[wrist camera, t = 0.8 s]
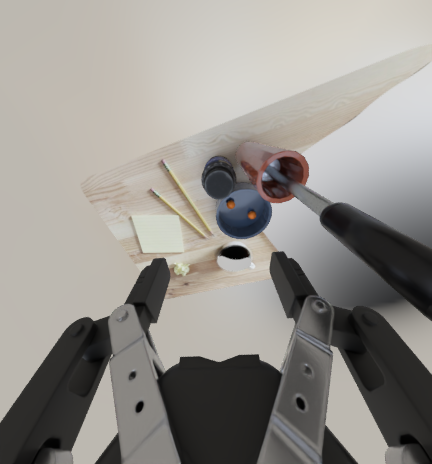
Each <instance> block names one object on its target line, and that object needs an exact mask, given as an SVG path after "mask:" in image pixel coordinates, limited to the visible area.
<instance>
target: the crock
mask: <svg viewBox="0 0 432 464" xmlns="http://www.w3.org/2000/svg"><path fill="white" fill-rule="evenodd" d="M235 158H236V161H237V163H238V165H239V166H240V167H241V169H242V170H243V172H244V173H245V174H246V176H247V177H248V179H249V180H250V181H251V183H252V184H253V186H254V187H255V188H256V190H257V191H258V193H259V194H260V195H261V197H262V198H263V199H265V200H267V201H268V202H271V203H282V202H286V201H289V200H291V199H292V198H294V197H295V196H293V195H292V194H291V193H290V192H288V191H287V190H286V189H285V188H284V187H282V186H281V185H280V184H279V183H277V182H276V181H275V180H274V179H273V180H271V181H268V182H264V181H262V176H263V173H264V171H265V170H266V168H267V167H268V165H269V164H271V163H272V162H273V161H275V160H276V159H278V160H279V162H280V171H281V172H282V173H284V174H286V175H287V176H289V177H291V178H292V179H294V180H296V181H297V182H299V183H301V184H302V185H304V186H305V184H306V182H307V179H308V176H309V166H308V163H307V161H306V160H305V157H304V156H302V155H301V154H299V153H298V152H296V151H292V150H288V149H284V148H279V147H275V146H269V145H265V144H260V143H256V142H252V141H246V142H243V143H242V144H240V145H239V147H238V148H237V150H236V154H235Z"/></svg>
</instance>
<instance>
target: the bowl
mask: <svg viewBox="0 0 432 464" xmlns="http://www.w3.org/2000/svg"><path fill="white" fill-rule="evenodd" d="M230 200H232V201H234V203H235V207H234V208H233V209H229V208H227V202H228V201H230ZM250 211H254V212H255V213H256V217H255V218H254V219H250V218H249V217H248V213H249V212H250ZM271 216H272V207H271V204H270V202H268V201H267V200H265V199H263V198H262V197H261V195H260V194H259V193H258V191H257V190H256V188H255V187H254V186H253V184H250V183H236V184H235V187H234V189H233V190H232V192H231V194H230V195H229V196H228V197H226V198H224V199H218V200H217V204H216V220H217V224H218V226H219V228H220V230H221V231H222V232H224V233H225V234H226V235H228V236H230V237H232V238H236V239H247V238H251V237H254V236H256V235H258V234H259V233H261V232H262V231H263V230H264V229H265V228H266V226H267V225H268V224H269V222H270V219H271Z"/></svg>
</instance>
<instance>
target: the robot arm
mask: <svg viewBox="0 0 432 464" xmlns="http://www.w3.org/2000/svg"><path fill="white" fill-rule="evenodd" d="M270 274H271V277H272V280H273V282H274V284H275V287H276V290H277V293H278V295H279V298H280V300H281V303H282V305H283V308H284V311H285V313H286V316H287V318H294V321H295V326H294V329H293V332H292V335H291V338H290V341H289V345H288V348H287V351H286V354H285V357H284V359H283V362H282V365H281V368H280V372H279V371H278V370H277V369H276V368H274V367H273V366H271V365H270V364H268V363H266V362H263V361H261V360H260V359H259V355H258V354H257V355H238V356H235V357H233V358H230V359H227V360H225V361H222V362H216V361H213V360H209V359H206V358H203V357H199V356H198V357H180V362H179V363H178V364H176V365H174V366H172V367H171V368H169V369H168V370H167V371H165V369H164V366H163V364H162V362H161V360H160V358H159V356H158V353H157V350H156V348H155V345H154V342H153V340H152V337H151V334H150V331H149V326H150V323H157V320H158V317H159V313H160V310H161V307H162V303H163V301H164V297H165V294H166V291H167V287H168V284H169V281H170V271H169V268H168V265H167V262H166V259H165V258H155V259H153V261H152V263H151V265H150V266H146V267H145V268H144V269H143V270H142V271H141V273H140V275H139V277H138V279H137V281H136V284H135V285H134V287H133V289H132V291H131V292H130V294H129V296H128V298H127V300H126V302H125V304H124V305H122V306H120V307H118V308H117V309H115V310H114V311H113V312H112V314H111V315H110V316H108V317H105V318H102V319H99V320H97V321H93V320H92V319H91V318H89V317H85V318H81V319H79V320H77V321H75V322H74V323H72V324H71V325H70V326H69V327H68V328H67V329H66V330H65V331H64V333H63V334H62V336H61V337H60V339H59V340H58V341H57V343H56V344H55V346H54V347H53V349H52V350H51V351H50V353H49V354H48V356H47V357H46V358H45V360H44V361H43V363H42V364H41V366H40V367H39V368H38V370H37V371H36V373H35V374H34V376H33V377H32V378H31V380H30V381H29V383H28V384H27V386H26V387H25V388H24V390H23V391H22V393H21V394H20V396H19V397H18V398H17V400H16V401H15V403H14V404H13V406H12V407H11V408H10V410H9V411H8V413H7V414H6V416H5V417H4V418H3V420H2V421H1V423H0V464H73V456H72V453H71V450H72V448H73V446H74V443H75V441H76V438H77V436H78V433H79V431H80V429H81V426H82V424H83V422H84V419H85V417H86V414H87V412H88V410H89V407H90V404H91V402H92V400H93V397H94V395H95V393H96V390H97V388H98V386H99V383H100V381H101V378H102V376H103V374H104V371H105V369H106V366H107V364H108V362H109V359H110V357H111V354H113V357H112V358H111V359H110V362H109V365H110V373H111V381H112V388H113V396H114V403H115V411H116V418H117V426H118V433H117V435H116V436H115V437H114V439H113V440H112V441H111V443H110V444H109V445H108V447H107V448H106V449H105V451H104V452H103V453H102V455H101V456H100V457H99V459H98V460H97V461H96V463H95V464H358V463H357V462H356V461H355V459H354V458H353V457H352V456H351V455H350V453H349V452H348V451H347V450H346V449H345V448H344V446H343V445H342V444H341V443H340V442H339V440H338V439H337V438H336V437H335V436H334V434H333V433H332V432H331V431H330V430H329V429H328V427H327V426H326V425H325V420H326V412H327V404H328V395H329V386H330V376H331V368H332V360H333V352H332V351H331V350H330V345H332V346H335V347H338V349H339V351H340V353H341V355H342V357H343V359H344V361H345V363H346V365H347V367H348V368H349V370H350V372H351V374H352V376H353V378H354V380H355V382H356V384H357V386H358V388H359V390H360V392H361V394H362V396H363V398H364V400H365V402H366V404H367V406H368V408H369V410H370V412H371V413H372V415H373V417H374V419H375V421H376V423H377V425H378V427H379V429H380V431H381V433H382V435H383V437H384V439H385V441H386V443H387V445H388V447H389V448H388V449H387V451H386V454H385V461H386V464H432V374H431V373H430V372H429V371H428V370H427V368H426V367H425V366H424V365H423V364H422V362H421V361H420V360H419V359H418V358H417V356H416V355H415V354H414V353H413V352H412V350H411V349H410V348H409V347H408V346H407V345H406V343H405V342H404V341H403V340H402V339H401V338H400V336H399V335H398V334H397V333H396V331H395V330H394V329H393V328H392V327H391V326H390V324H389V323H388V322H387V321H386V320H385V318H384V317H383V316H381V315H380V314H379V313H377V312H376V311H374V310H373V309H370V308H368V307H364V306H356V307H354V308H353V310H352V311H351V310H347V309H342V308H339V307H335V306H332V305H331V304H330V303H329V302H328V301H327V300H325V299H324V298H322V297H319V296H318V294H317V293H316V291H315V290H314V288H313V286H312V285H311V283H310V281H309V280H308V278H307V277H306V275H305V273H304V272H303V271H302V269H301V267H300V266H299V264H298V263H297V262H296V261H295V260H294V259H292V258H287V256H286V254H285V253H284V252H283V251H282V252H272V256H271V262H270Z"/></svg>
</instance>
